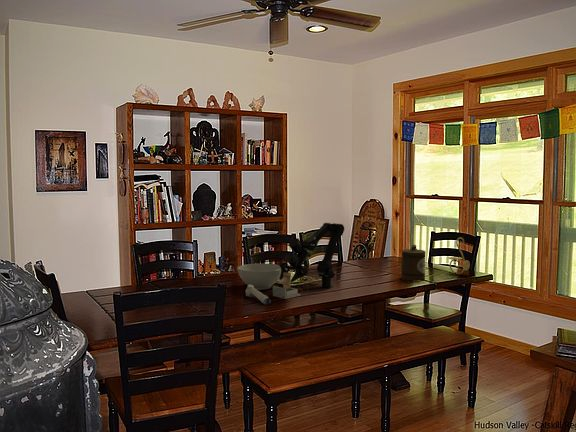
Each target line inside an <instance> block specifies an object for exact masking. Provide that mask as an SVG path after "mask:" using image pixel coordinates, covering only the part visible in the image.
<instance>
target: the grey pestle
mask: <svg viewBox="0 0 576 432" xmlns="http://www.w3.org/2000/svg"><path fill="white" fill-rule="evenodd" d="M245 296H246V297H250V298H253V297H256V298H257V299H258V300H259V301H260V302H261V303H262V304H264V305H265V306H267V305H270V304H271V303H272V301H271V298H270V297H269V296H268V295H267V294H266V295H265V294H264V293H262V292H261V291H260V290H256V289H255V288H254V286H253V285H247V287H246V289H245Z"/></svg>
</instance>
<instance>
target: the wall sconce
mask: <svg viewBox="0 0 576 432" xmlns="http://www.w3.org/2000/svg"><path fill="white" fill-rule="evenodd" d="M459 240H462V241H460V244H464V243H465V239H464V238H463V237H458V238H457V239H456V241H455V244H456V247H457V249H458V252H459V253H460V255H461V257H460V256H459V257H458V256H448V257H447V259H448V260H451V261H450V262H449V269H450V271H451V272H452V273H453V274H455V273H456V274H455V275H461V274H462V273H464V271H468V270H469V269H470V266H471V263H470V261H469V260H466V259H465V256H464V254H463V251H462V249H461V248H460V245H459V243H458V242H459ZM460 260H462V262H463V263H462V268H463V269H461V271H460V272H455V271H454V270H453V268H452V262H453V264H454V266H455V267H456V268H460V266H461V262H460ZM457 263H458V265H457Z"/></svg>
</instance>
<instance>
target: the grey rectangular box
mask: <svg viewBox="0 0 576 432" xmlns="http://www.w3.org/2000/svg"><path fill="white" fill-rule="evenodd" d="M298 291H299V290H298V288H293V287H291V290H290V291H286V289H285V288H283V287H280V286H277V285H272V296H273V297H276V298H280V299H283V300H287V299H292V298H296V297H300V296H302V294H301V293H298Z"/></svg>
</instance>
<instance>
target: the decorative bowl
mask: <svg viewBox="0 0 576 432" xmlns="http://www.w3.org/2000/svg"><path fill="white" fill-rule="evenodd" d="M237 273H238V275H239V277H240V279H241V280H242V282H244V284H245V285H247V286H248V285H253V286H254V288H255V289H256V290H258V291H262V290H269V289H270V288H272V286H274V284H275V283H276V282H277V281H278V280H280V279H279V278H280V274H281V268H280V266H279V264H274V263H249V264H242V265H239V266H237Z"/></svg>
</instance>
